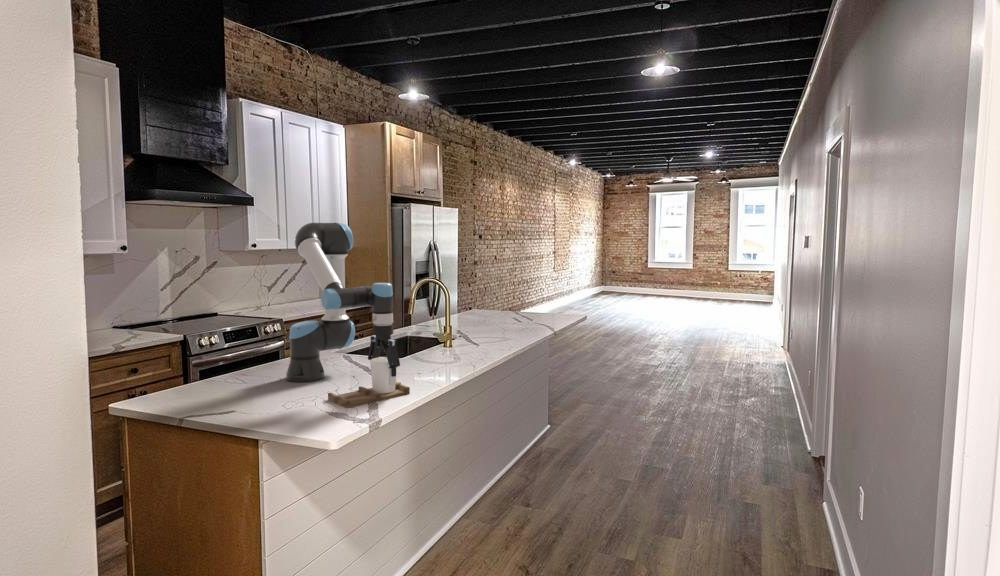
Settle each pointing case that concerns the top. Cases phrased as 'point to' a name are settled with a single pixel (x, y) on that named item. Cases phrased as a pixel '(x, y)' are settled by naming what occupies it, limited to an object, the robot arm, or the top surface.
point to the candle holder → (381, 375)
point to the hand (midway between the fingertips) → (383, 381)
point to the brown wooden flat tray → (366, 396)
